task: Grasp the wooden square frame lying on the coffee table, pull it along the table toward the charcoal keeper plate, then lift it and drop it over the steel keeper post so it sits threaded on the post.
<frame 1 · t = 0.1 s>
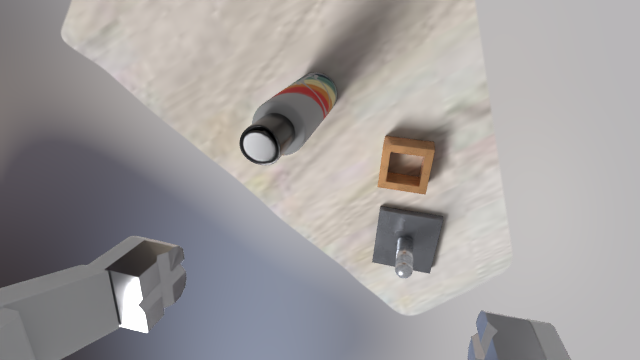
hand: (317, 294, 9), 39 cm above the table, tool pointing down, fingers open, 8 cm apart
lotion bottle: (317, 93, 47), on the table
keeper: (405, 238, 54), on the table
wooden square frame: (405, 160, 48), on the table
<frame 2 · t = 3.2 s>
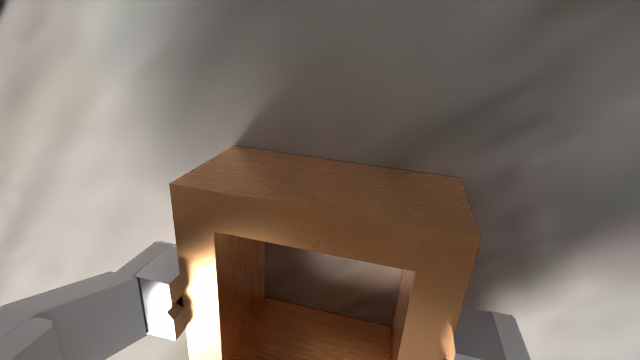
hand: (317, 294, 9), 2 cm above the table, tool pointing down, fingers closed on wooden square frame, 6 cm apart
wooden square frame: (331, 257, 11), on the table, touching gripper
when the fingers open (5 cm above the table, at t = 8.8 s): wooden square frame drops 2 cm, resting on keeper.
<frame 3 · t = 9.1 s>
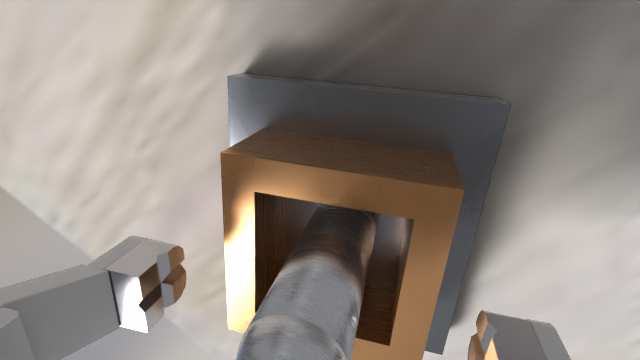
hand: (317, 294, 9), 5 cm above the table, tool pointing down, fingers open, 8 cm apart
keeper: (348, 212, 14), on the table
wooden square frame: (343, 223, 13), point 1 cm above the table, touching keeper
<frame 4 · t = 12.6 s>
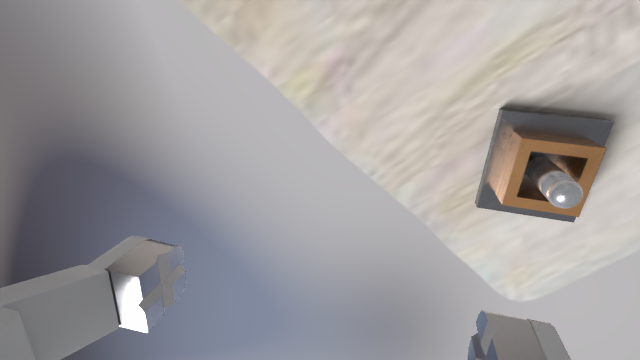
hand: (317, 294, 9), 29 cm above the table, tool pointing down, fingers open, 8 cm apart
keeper: (535, 164, 34), on the table
wooden square frame: (539, 167, 33), point 1 cm above the table, touching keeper
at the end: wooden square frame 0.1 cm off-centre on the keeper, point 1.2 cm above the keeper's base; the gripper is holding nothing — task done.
